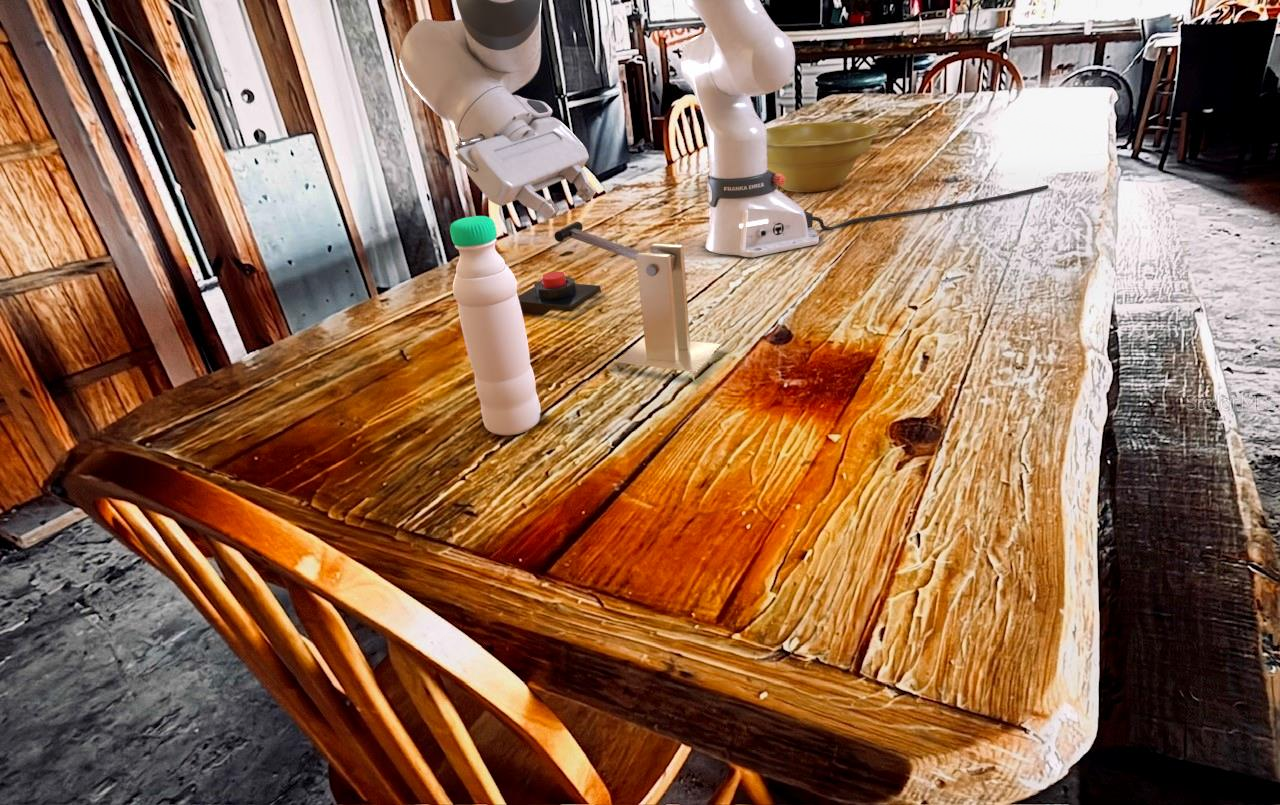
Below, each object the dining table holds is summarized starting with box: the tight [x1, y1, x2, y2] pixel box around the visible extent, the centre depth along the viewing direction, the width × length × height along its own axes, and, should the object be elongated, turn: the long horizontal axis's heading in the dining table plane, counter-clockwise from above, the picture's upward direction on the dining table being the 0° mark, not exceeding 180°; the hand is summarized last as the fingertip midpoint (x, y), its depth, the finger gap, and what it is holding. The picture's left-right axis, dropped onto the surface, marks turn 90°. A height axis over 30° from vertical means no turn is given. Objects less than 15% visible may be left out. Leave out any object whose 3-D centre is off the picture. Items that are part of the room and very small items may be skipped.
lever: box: [553, 221, 676, 273], centre depth 93 cm, size 16×5×2 cm, turn 63°
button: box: [541, 271, 566, 288], centre depth 120 cm, size 4×4×2 cm
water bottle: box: [449, 215, 542, 436], centre depth 80 cm, size 7×7×25 cm
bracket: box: [615, 243, 722, 373], centre depth 94 cm, size 12×9×16 cm
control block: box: [518, 276, 602, 316], centre depth 121 cm, size 12×10×4 cm
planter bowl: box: [766, 121, 880, 193], centre depth 179 cm, size 32×32×13 cm
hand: (573, 205), depth 93 cm, fingers open, 8 cm apart
